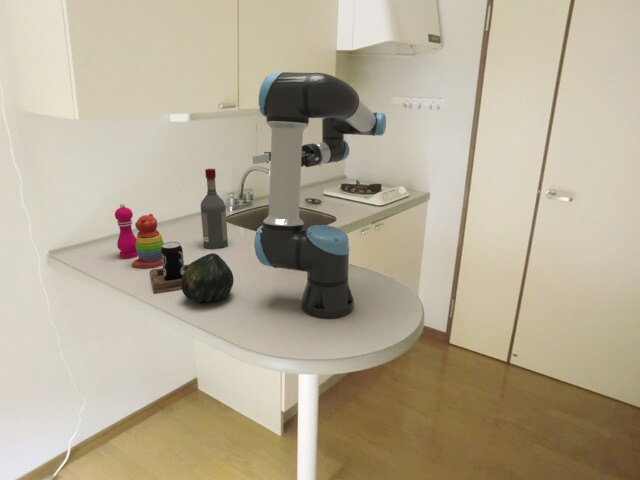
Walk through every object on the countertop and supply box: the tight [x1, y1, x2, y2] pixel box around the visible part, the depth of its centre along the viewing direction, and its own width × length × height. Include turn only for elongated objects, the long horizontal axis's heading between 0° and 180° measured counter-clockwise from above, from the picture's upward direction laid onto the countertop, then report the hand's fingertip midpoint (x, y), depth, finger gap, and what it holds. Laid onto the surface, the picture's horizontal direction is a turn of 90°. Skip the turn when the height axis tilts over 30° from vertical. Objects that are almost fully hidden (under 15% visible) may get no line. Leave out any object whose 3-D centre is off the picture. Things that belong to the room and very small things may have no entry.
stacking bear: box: [131, 213, 165, 269], centre depth 170 cm, size 11×10×18 cm
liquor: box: [200, 168, 229, 250], centre depth 187 cm, size 9×9×30 cm
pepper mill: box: [114, 202, 138, 260], centre depth 177 cm, size 7×7×20 cm
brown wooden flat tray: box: [149, 263, 191, 294], centre depth 160 cm, size 18×16×3 cm
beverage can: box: [161, 241, 185, 281], centre depth 156 cm, size 7×7×12 cm
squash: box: [182, 252, 234, 303], centre depth 145 cm, size 14×15×15 cm
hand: (267, 162), depth 151 cm, fingers open, 13 cm apart
